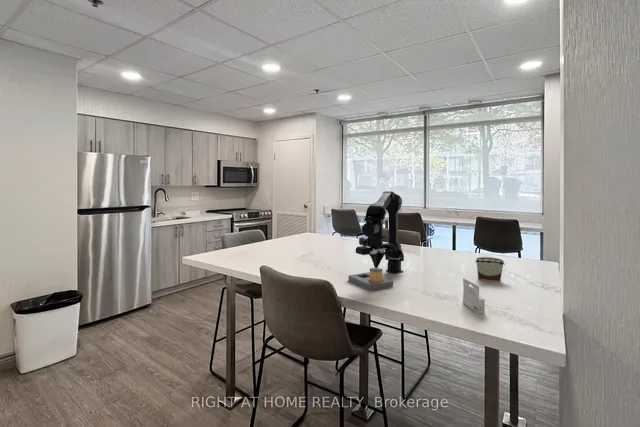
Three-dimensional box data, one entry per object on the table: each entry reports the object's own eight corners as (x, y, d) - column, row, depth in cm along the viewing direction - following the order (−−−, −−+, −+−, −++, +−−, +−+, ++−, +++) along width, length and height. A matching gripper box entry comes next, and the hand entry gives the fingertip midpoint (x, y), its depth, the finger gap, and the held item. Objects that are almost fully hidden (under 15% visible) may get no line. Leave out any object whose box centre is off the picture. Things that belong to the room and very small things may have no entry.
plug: (376, 284, 151) (376, 267, 151) (382, 286, 148) (382, 269, 147) (369, 285, 149) (369, 268, 149) (375, 288, 146) (375, 270, 145)
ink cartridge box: (468, 302, 127) (469, 277, 126) (484, 313, 116) (485, 286, 115) (462, 302, 127) (462, 277, 126) (478, 313, 116) (478, 286, 115)
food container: (502, 278, 158) (503, 258, 158) (504, 282, 153) (504, 260, 152) (474, 275, 164) (475, 256, 163) (474, 279, 158) (475, 258, 157)
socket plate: (368, 277, 163) (368, 272, 163) (392, 286, 147) (393, 281, 147) (348, 280, 158) (348, 275, 157) (371, 291, 142) (371, 285, 142)
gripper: (381, 229, 158) (381, 261, 159) (348, 232, 149) (348, 266, 151) (397, 232, 148) (396, 266, 150) (363, 236, 140) (363, 272, 141)
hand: (376, 267), depth 148 cm, fingers closed
